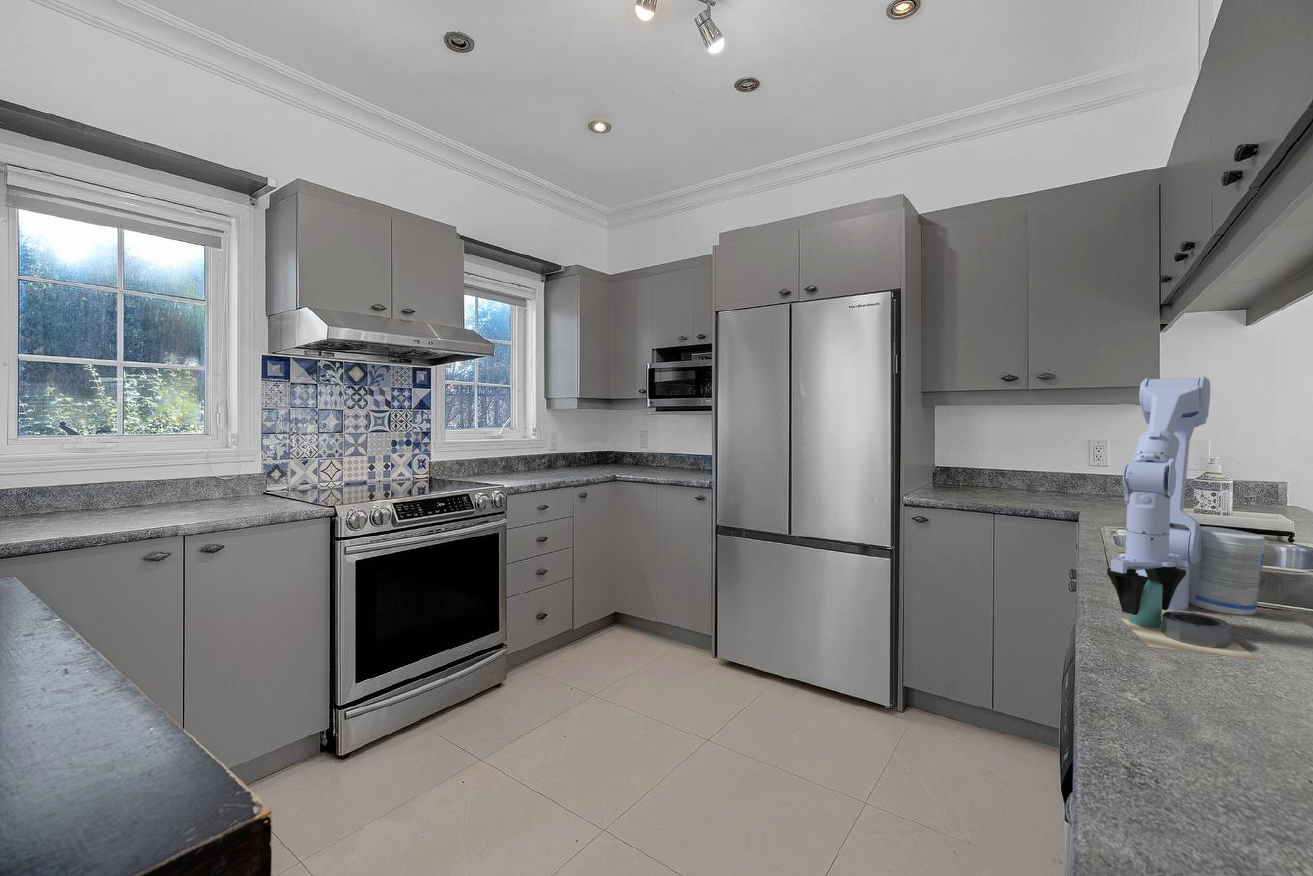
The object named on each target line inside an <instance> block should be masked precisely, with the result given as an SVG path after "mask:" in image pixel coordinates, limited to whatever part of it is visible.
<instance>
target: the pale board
mask: <svg viewBox="0 0 1313 876" xmlns="http://www.w3.org/2000/svg"><path fill="white" fill-rule="evenodd" d="M1117 617H1119V619H1121V621H1123V622H1124V623H1125V624H1126V625H1127V627H1129V628H1130V630H1132V631H1133V632H1134V633H1135V634H1136V635H1137V636H1138V637H1139V638H1140V640H1142V641H1143V642H1144V643H1145V644H1146V645H1147V646H1148V647H1150V648H1157V649H1163V650H1164V649H1165V650H1173V651H1174V650H1175V651H1183V652H1190V653H1199V654H1205V655H1216V656H1224V657H1233V658H1241V659H1248V660H1255V661H1259V660H1260V659H1259V657H1258V658H1257V657H1256V656H1255V655H1253V654H1252V653H1251V652H1249V651H1248V650H1246V648H1244V647H1242V646H1241V645H1240V644H1238V643H1237V642H1235V641H1234V640H1233V639H1231V645H1230V646H1229V647H1228V648H1209V647H1201V646H1195V645H1190V644H1186V643H1182V642H1178V641H1176V640H1173V639H1171V638H1168V637H1166V636H1165V635H1164V634H1163V633H1162V620H1161V627H1158V628H1151V627H1144V626H1139V625H1135V624H1133V623H1130V622H1129V621H1128V618H1129V615H1124V614H1117Z"/></svg>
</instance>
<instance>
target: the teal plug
mask: <svg viewBox="0 0 1313 876" xmlns="http://www.w3.org/2000/svg"><path fill="white" fill-rule="evenodd" d="M1162 588H1163V585H1162V584H1160V583H1158V582H1154V581H1149V580H1148V581H1147V582H1146V584H1145V586H1144V589H1143V591H1142V595H1141V601H1140V608H1139V612H1138V614H1137V615H1132V614H1129V613H1128V616H1129V618H1128V621H1129V622H1130V623H1133V624H1135V625H1139V626H1144V627H1151V628H1158V627H1161V620H1162V614H1163V612H1162V611H1163V610H1162Z"/></svg>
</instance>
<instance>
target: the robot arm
mask: <svg viewBox="0 0 1313 876" xmlns="http://www.w3.org/2000/svg"><path fill="white" fill-rule="evenodd" d="M1138 392H1139V394H1138V395H1139V396H1138V397H1139V400H1138V401H1139V406H1140V407H1141V411H1142V416H1143V418H1144V420H1145V423H1146V424H1148V430H1146V431H1145V432H1143V433H1141V434H1140V435H1139V437H1138V439H1137V444H1136V446H1135V449H1134V454H1133V457H1132V461H1131V462H1130V464H1129V463H1126V464H1125V466H1124V469H1123V473H1122V485H1123V490H1124V504H1125V505H1127V506H1126V528H1125V530H1126V533H1125V554H1124V555H1121V556H1119V557H1118V558H1113V559H1111V560H1110V567H1109V568H1106V574H1107V576H1108V578H1109V579H1110V581H1111V582H1112V585H1113V586H1114V589H1115V591H1116V594H1117V597H1118V601H1119V604H1120V607H1121V612H1123V613H1126V614H1128V615H1129V614H1132V615H1137V614H1138V612H1139V608H1140V601H1141V595H1142V591H1143V589H1144V586H1145V584H1146V582H1147V581H1148V580H1149V581H1154V582H1158V583H1160V584H1162V585H1163V588H1162V611H1168V610H1174V611H1185V610H1188V609H1189V606H1190V605H1189V604H1190V603H1189V576H1190V567H1191V564H1196V563H1197V562H1199V560H1200V556H1201V548H1202V538H1201V527H1202V526H1201V524H1200V523H1199V521H1198V520H1196V519H1195V518H1194V517H1192V516H1191V515H1189V514H1187V513H1186V512H1185V511H1184V506H1185V497H1186V496H1185V494H1186V485H1187V475H1188V463H1189V451H1190V444H1191V443H1190V442H1191V438H1192V435H1193V433H1194V430H1195V428H1198V427H1200V426H1203V425H1204V424H1206V423H1207V419H1208V418H1209V410H1210V401H1211V381H1210V379H1209V378H1207V377H1206V376H1201V377H1177V378H1175V377H1174V378H1151V379H1150V378H1144V379H1143V380H1142V381H1141V382H1140V385H1139V391H1138Z"/></svg>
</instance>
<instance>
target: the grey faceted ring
mask: <svg viewBox="0 0 1313 876" xmlns="http://www.w3.org/2000/svg"><path fill="white" fill-rule="evenodd" d="M1162 633H1163V634H1164V635H1165V636H1166V637H1168V638H1171V639H1173V640H1176V641H1178V642H1182V643H1186V644H1190V645H1195V646H1201V647H1209V648H1228V647H1229V646H1230V645H1231V640H1232V624H1230V622H1229V623H1228V622H1227V621H1226V620H1223V619H1220V618H1217V617H1214V616H1210V615H1206V614H1205V615H1204V614H1200V613H1195V612H1188V611H1187V612H1186V611H1179V610H1175V611H1165V612H1164V613H1162Z"/></svg>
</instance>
